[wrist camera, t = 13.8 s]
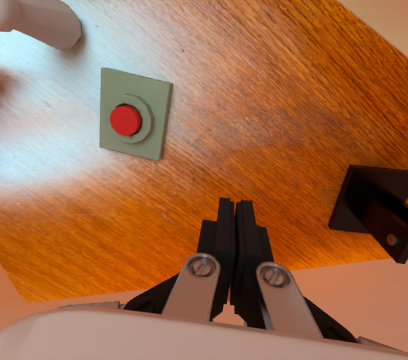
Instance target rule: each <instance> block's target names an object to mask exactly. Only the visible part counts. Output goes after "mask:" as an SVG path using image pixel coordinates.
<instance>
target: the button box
mask: <svg viewBox="0 0 408 360" xmlns="http://www.w3.org/2000/svg"><path fill="white" fill-rule="evenodd" d="M172 86H173V83H169V82H165V81H161V80H157V79H152V78H148V77H144V76H140V75H136V74H131V73H127V72H123V71H119V70H114V69H110V68H101V101H100V147H101V148H105V149H110V150H114V151H118V152H122V153H127V154H131V155H135V156H139V157H143V158H148V159H152V160H156V161H159V160H160V159H161V158H162V156H163V149H164V142H165V135H166V128H167V121H168V114H169V107H170V100H171V93H172ZM124 105H128V106H132V107H134V108H135V109H136V110H137V111H138V112H139V114H140V116H141V120H142V123H141V127H140V128H139V130H138V131H136V132H135V133H133V134H131V135H128V136H124V135H120V134H118V133H117V132H116V131H115V130H114V129H113V128H112V126H111V123H110V115H111V112H112V111H113V110H114V109H115V108H117V107H121V106H124Z"/></svg>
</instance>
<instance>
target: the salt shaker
mask: <svg viewBox="0 0 408 360" xmlns="http://www.w3.org/2000/svg"><path fill="white" fill-rule="evenodd" d="M13 29H15V30H17V31H19V32H22V33H24V34H26V35H29V36H31V37H33V38H35V39H37V40H39V41H41V42H43V43H46V44H48V45H50V46H52V47H54V48H56V49H69V48H70V47H72V46H74V45H75V44H76V42H77V41H78V39H79V38H80V37H81V36H82V32H81V25H80V20H79V19H78V17H77V16H76V14H75V13H74V12H73V11H72V9H71V8H70V7H69V5H67V4H65V3H64V2H62V1H60V0H0V31H2V32H10V31H12V30H13Z"/></svg>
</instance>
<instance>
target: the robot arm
mask: <svg viewBox="0 0 408 360" xmlns="http://www.w3.org/2000/svg"><path fill="white" fill-rule="evenodd" d="M229 287H230V305H234V307H235V308H234V310H235V314H239V316H240V317H241V318H242V319H243V320H244V326H238V325H230V324H224V323H217V322H213V318H215V317H216V316H217V315H219V314H220V313H221V312H222V311H223V305H224V304H227V299H228V293H229ZM0 360H408V353H407V352H404V351H401V350H398V349H395V348H392V347H389V346H387V345H384V344H381V343H378V342H375V341H372V340H369V339H367V338H364V337H361V336H359V338H358V339H356V338H354V336H353V335H352V334H351V333H350V332H349V331H348V330H347V329H346V328H344V327H343V326H342V325H341V324H339V323H338V322H337V321H335V320H334V319H333V318H331V317H330V316H329V315H328V314H326V313H325V312H323V310H321V309H320V308H319V307H317V306H316V305H315V304H313V303H312V302H311V301H310V300H308V299H307V298H305V297H304V296H303V295H302V293H301V291H300V289H299V288H298V285H297V283H296V281H295V279H294V277H293V275H292V274H291V272H290V271H289V270H288V269H287V268H286V267H284V266H282V265H281V264H278V263H275V262H274V259H273V255H272V250H271V246H270V242H269V238H268V234H267V230H266V228H265V227H259V226H256V221H255V215H254V210H253V204H252V201H248V200H241V202H237V204H236V210H235V216H234V202H233V201H230V198H222V197H220V200H219V209H218V217H217V221H210V220H203V221H202V226H201V232H200V237H199V243H198V248H197V253H196V254H193V255H191V256H189V257H188V258H187V259H186V261H185V262H184V265H183V267H182V269H181V271H180V273H178V274H177V275H175V276H173V277H171V278H169V279H167V280H166V281H164V282H162V283H160V284H158V285H156V286H155V287H153V288H151V289H149V290H147V291H145V292H144V293H142V294H140V295H138V296H136V297H135V298H133V299H132V300H130V301H129V302H128V303H127V304H120V301H115V302H101V303H88V304H74V305H66V306H61V307H59V308H57V309H53V310H48V311H43V312H39V313H36V314H32V315H29V316H26V317H24V318H21V319H19V320H17V321H15V322H13V323H11V324H9V325H8V326H6V327H5V328H3V329H2V330H0Z"/></svg>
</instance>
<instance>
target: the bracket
mask: <svg viewBox="0 0 408 360" xmlns="http://www.w3.org/2000/svg"><path fill="white" fill-rule="evenodd" d="M407 198H408V170H400V169H389V168H379V167H369V166H359V165H350V166H349V169H348V171H347V174H346V177H345V180H344V182H343V185H342V188H341V191H340V193H339V196H338V199H337V202H336V205H335V207H334V210H333V213H332V216H331V218H330V221H329V224H328V226H329V228H330V229H333V230H341V231H350V232H359V233H367V234H371V235H372V236H373V237H374V238H375V239H376V240H377V241H378V243H379V244H380V245H381V246H382V247H383V248H384V249H385V250H386V252H387V253H388V254H389V255H390V256H391V257H392V258H393V259H394V260H395V261H396V263H401V264H405V263H406V261H407V259H408V204H406V203H405V202H406V200H407Z"/></svg>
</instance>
